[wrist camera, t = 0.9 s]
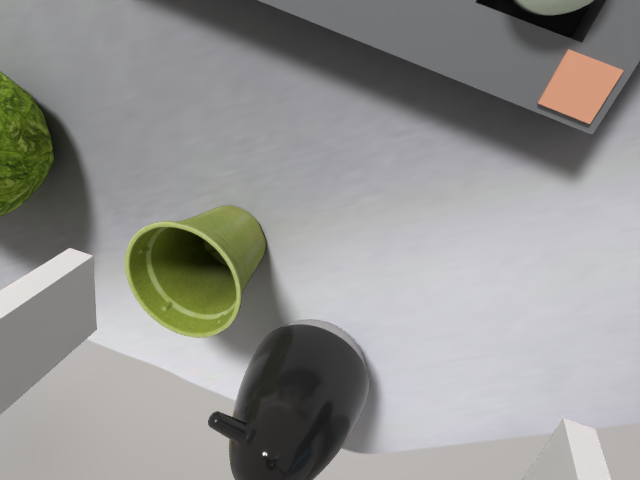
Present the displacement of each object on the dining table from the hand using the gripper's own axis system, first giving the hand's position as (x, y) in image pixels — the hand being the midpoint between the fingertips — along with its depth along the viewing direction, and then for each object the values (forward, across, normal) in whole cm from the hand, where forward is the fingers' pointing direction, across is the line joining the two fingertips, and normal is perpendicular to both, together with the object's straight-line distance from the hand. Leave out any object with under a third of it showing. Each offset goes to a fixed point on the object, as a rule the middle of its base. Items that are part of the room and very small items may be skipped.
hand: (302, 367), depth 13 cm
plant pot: (+25, +12, +12) cm, 30 cm away
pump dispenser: (+24, +2, +20) cm, 31 cm away
